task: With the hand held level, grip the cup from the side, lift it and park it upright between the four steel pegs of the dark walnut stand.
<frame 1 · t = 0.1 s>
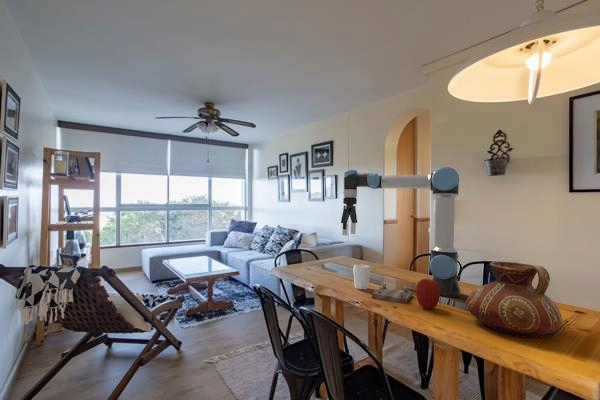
hand: (349, 234, 176), 28 cm above the table, tool pointing down, fingers open, 13 cm apart
jug: (510, 326, 118), on the table
apple: (427, 308, 137), on the table
cup: (361, 288, 168), on the table
peg stand: (392, 296, 153), on the table
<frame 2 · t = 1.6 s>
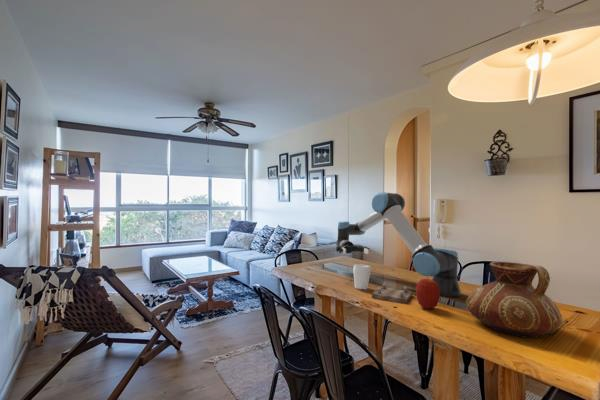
hand: (356, 251, 178), 18 cm above the table, tool horizontal, fingers open, 13 cm apart
nothing on the table moved.
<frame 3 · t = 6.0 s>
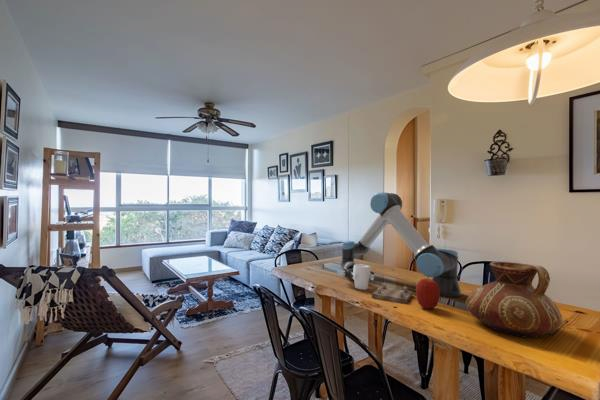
hand: (364, 277, 163), 7 cm above the table, tool horizontal, fingers closed on cup, 9 cm apart
cup: (361, 288, 168), on the table, touching gripper
everything else where it was.
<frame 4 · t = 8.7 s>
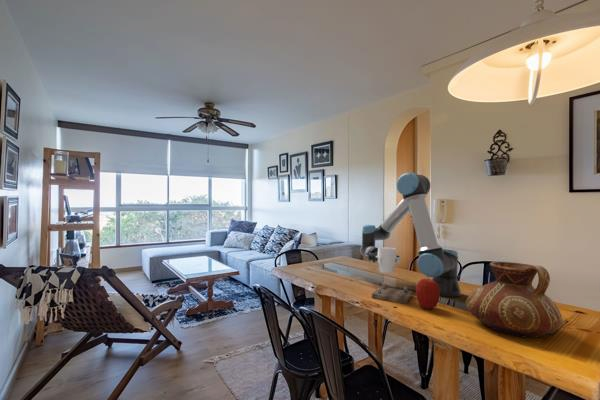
hand: (390, 260, 152), 18 cm above the table, tool horizontal, fingers closed on cup, 9 cm apart
cup: (386, 272, 156), point 11 cm above the table, touching gripper
everything else where it was.
when the fingers open (10 cm above the table, at t = 11.4 s): cup drops 1 cm, resting on peg stand.
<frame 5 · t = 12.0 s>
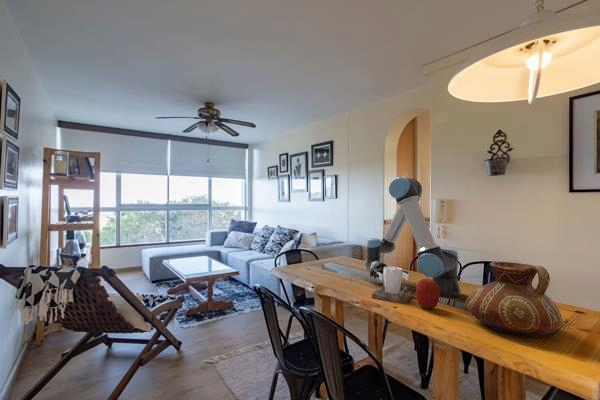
hand: (395, 277, 150), 10 cm above the table, tool horizontal, fingers open, 13 cm apart
cup: (392, 292, 153), point 2 cm above the table, touching peg stand
everything else where it was.
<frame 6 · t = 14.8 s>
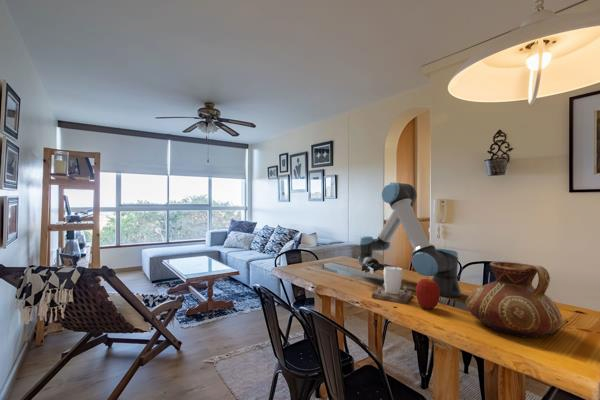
hand: (385, 271, 163), 10 cm above the table, tool horizontal, fingers open, 13 cm apart
nothing on the table moved.
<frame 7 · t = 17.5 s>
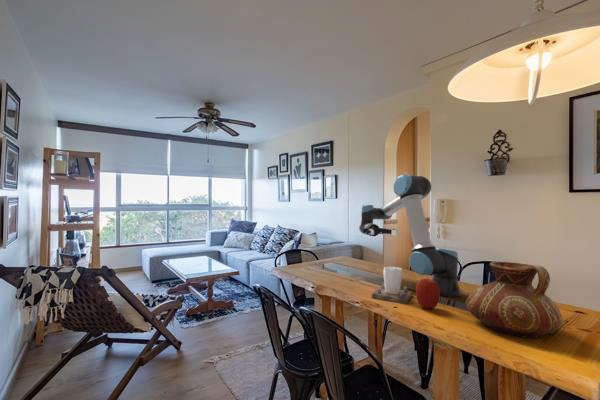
hand: (385, 232, 172), 30 cm above the table, tool horizontal, fingers open, 13 cm apart
nothing on the table moved.
at the end: cup 0.1 cm off-centre on the peg stand, point 1.8 cm above the peg stand's base; cup tilted 0°; the gripper is holding nothing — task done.
